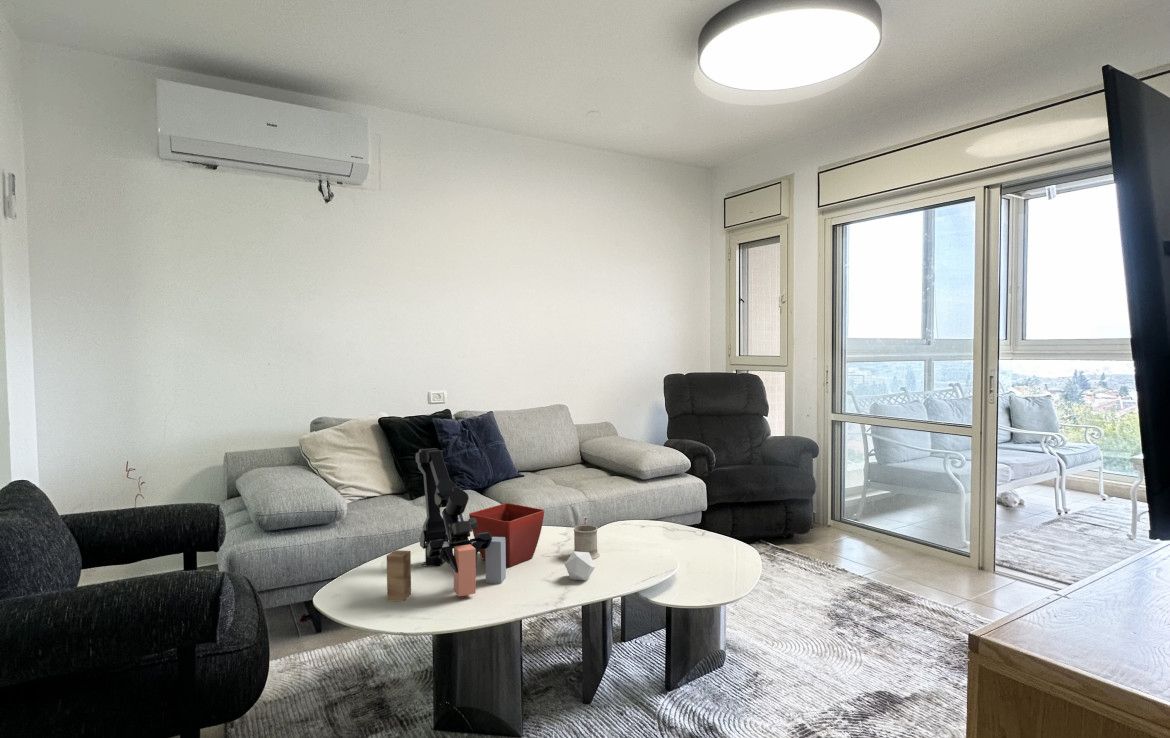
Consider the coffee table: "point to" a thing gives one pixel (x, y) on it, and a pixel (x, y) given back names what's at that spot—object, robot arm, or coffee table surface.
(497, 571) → the slate pillar
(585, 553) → the die
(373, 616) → the coffee table surface
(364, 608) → the coffee table surface
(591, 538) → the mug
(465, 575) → the salmon block
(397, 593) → the walnut pillar
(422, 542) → the robot arm
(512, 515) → the plant pot
